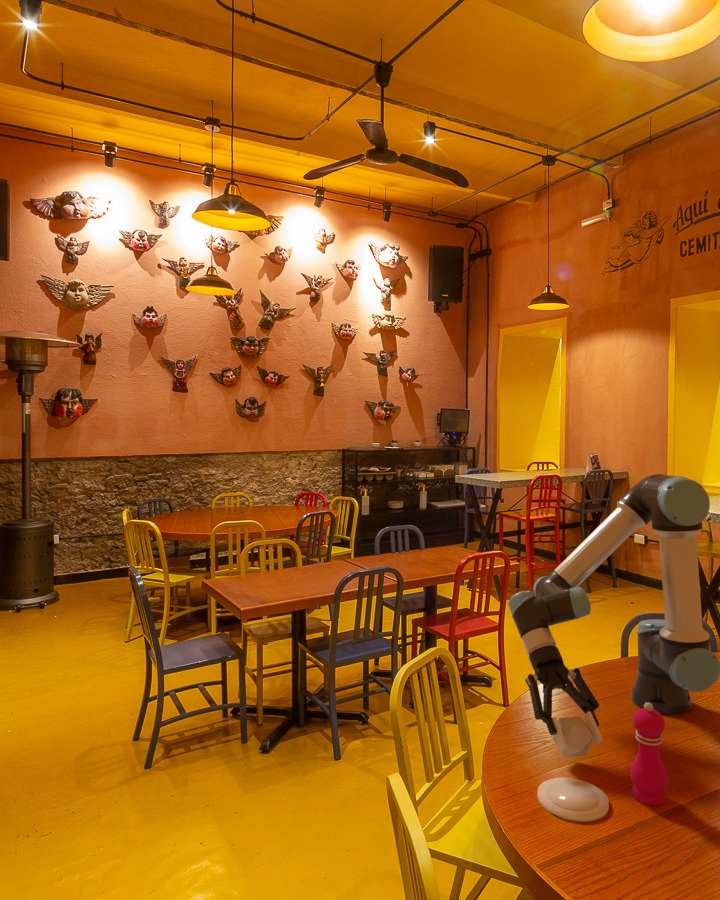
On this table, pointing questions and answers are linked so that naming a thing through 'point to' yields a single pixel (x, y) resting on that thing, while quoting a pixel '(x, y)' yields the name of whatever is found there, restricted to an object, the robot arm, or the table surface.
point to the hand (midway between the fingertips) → (581, 745)
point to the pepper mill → (649, 758)
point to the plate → (573, 799)
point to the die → (575, 736)
